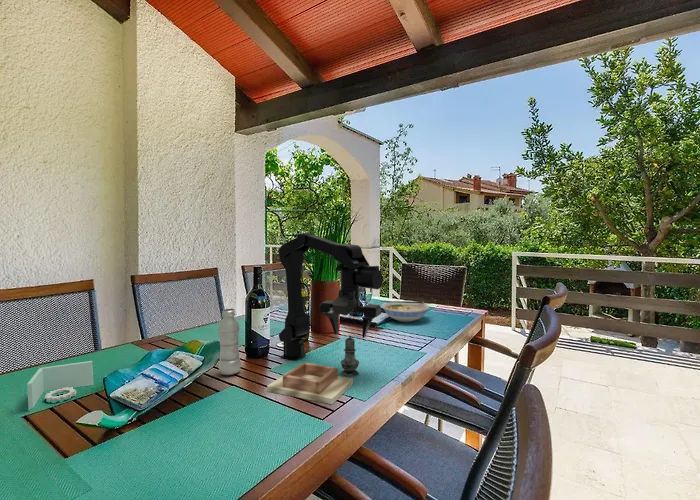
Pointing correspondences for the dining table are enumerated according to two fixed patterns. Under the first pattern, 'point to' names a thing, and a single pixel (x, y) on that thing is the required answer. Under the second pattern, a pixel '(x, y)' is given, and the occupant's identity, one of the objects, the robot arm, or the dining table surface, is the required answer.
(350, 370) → the salt shaker
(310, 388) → the shaker holder
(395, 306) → the ramen bowl
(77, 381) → the right angle wall
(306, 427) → the dining table surface
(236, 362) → the plastic bottle
